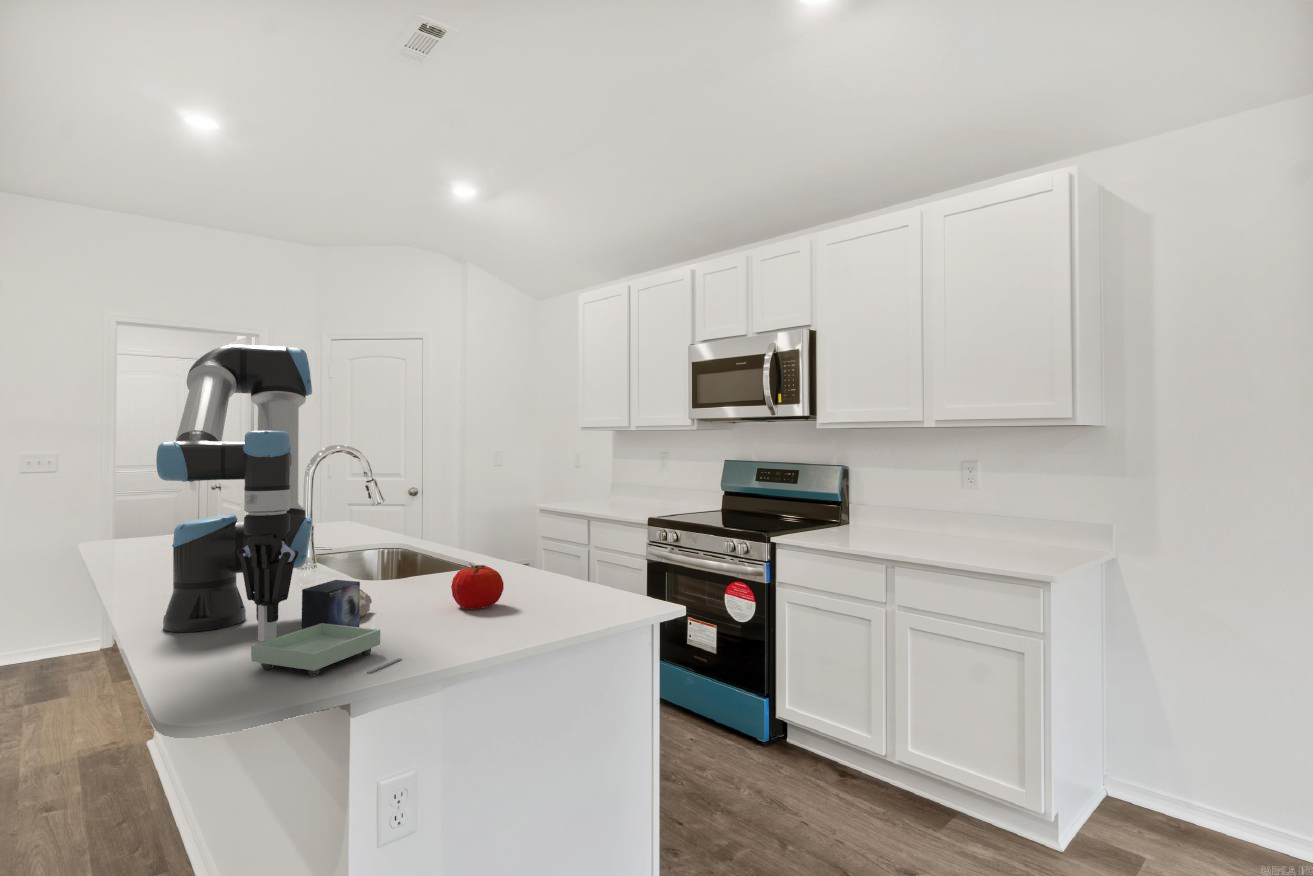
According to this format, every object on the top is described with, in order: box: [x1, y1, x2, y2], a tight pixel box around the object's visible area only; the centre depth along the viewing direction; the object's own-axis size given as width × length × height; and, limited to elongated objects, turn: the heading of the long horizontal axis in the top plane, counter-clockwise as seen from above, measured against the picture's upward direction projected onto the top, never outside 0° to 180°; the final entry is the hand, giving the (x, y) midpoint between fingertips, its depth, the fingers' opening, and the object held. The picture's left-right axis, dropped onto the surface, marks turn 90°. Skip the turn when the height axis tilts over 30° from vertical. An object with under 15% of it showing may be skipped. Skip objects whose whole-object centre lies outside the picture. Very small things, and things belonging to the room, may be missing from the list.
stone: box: [359, 588, 373, 619], centre depth 155 cm, size 8×12×10 cm, turn 1°
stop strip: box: [366, 657, 403, 674], centre depth 121 cm, size 1×8×1 cm, turn 161°
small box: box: [300, 579, 361, 630], centre depth 141 cm, size 11×6×10 cm, turn 168°
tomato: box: [450, 562, 505, 610], centre depth 164 cm, size 11×13×10 cm
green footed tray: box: [250, 623, 381, 677], centre depth 124 cm, size 14×15×4 cm
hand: (267, 638), depth 128 cm, fingers closed
